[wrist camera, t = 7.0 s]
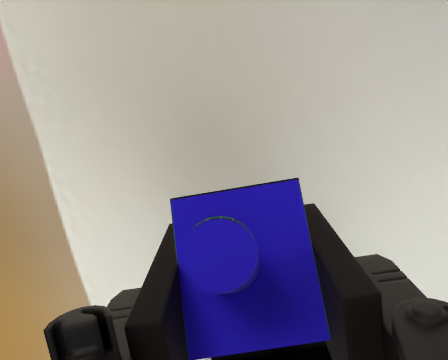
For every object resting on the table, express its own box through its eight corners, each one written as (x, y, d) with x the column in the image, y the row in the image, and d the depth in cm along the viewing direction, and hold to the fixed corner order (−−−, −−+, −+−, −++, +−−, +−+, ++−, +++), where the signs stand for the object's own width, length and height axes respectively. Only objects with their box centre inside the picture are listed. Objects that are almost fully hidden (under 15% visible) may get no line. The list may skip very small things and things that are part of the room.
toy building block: (287, 212, 16) (309, 141, 9) (308, 324, 15) (356, 359, 7) (197, 227, 16) (141, 170, 9) (212, 339, 15) (162, 386, 8)
